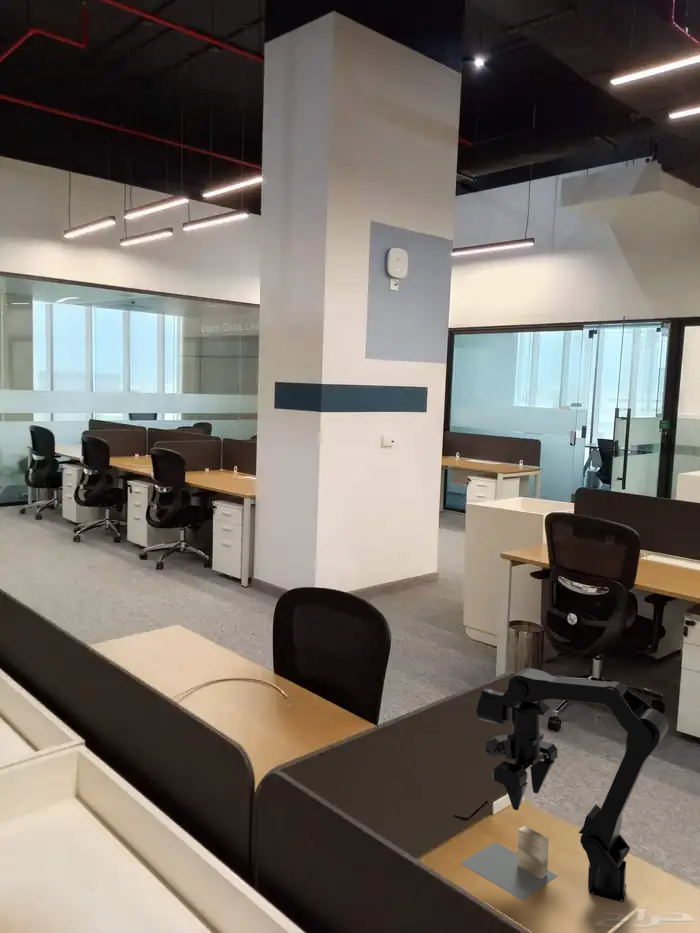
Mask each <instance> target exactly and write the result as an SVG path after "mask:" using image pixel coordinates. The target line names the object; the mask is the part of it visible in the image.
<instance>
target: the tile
mask: <svg viewBox="0 0 700 933" xmlns="http://www.w3.org/2000/svg"><path fill="white" fill-rule="evenodd" d="M517 830H518V831H517V854H518V860H517V866H519V867H521V868H523V869H524V870H526V871H528V872H530V873H532V874H533V875H535V876H537V877H539V878H540V879H542V878H544V877H545V876H547V870H548V864H549V863H548V860H549V858H548V857H549V838H548V837H547V836H545V835H543V834H542V833H539V832H537V831H535V830H534V829H532V828H529V827H527V826H525V825H523V826H522V827H520V828H518V829H517Z"/></svg>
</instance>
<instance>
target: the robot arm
mask: <svg viewBox="0 0 700 933" xmlns="http://www.w3.org/2000/svg"><path fill="white" fill-rule="evenodd" d="M507 687H508V688H507V690H506V691H505V692H502V691H497V690H493V689H492V688H484V689H482V690H481V691H480V693H481V694H480V697H479V699H478V702H477V706H476V710H475V711H476V716H477V718H478V720H480V721H485V722H489V723H493V724H498V725H501V726H506V725H507V724H508V723H509V722H511V730H512V731H511V732H510V733H508V734H502V735H501V734H500V735H496V736H494V737H492V738H491V737H490V738H488V739H486V741H485V744H484V746H485V747H484V752H486V754H487V756H490V757H491V758H496V757H499V756H501V757H502V756H505V759H507V760H513V761H514V762H515V763H511V762H508V761H506V760H505V761H502V762H501V763H500V764H498V765H497V766H496V767H494V768H493V769H492V771H491V774H492V776H491V777H492V780H493V781H494V782H496V783H499V784H501V785H503V786H504V788H505V790H506V792H507V795H508V799H509V801H510V805H511V807H512V809H513V810H514V811H518V810H519V809H520V806H521V804H522V800H523V798H524V795H525V792H526V790H527V786H528V782H527V780H528V772H527V770H528V769H530V777H531V778H530V779H531V786H532V787H531V788H532V792H533V793H534V794H539V792H540V790H541V788H542V786H543V784H544V783H545V781H546V778H547V776H548V774H549V772H550V770H551V769H552V767H553V765H554V763H555V761H556V759H557V758H558V748H557V746H556V745H555V744H554V743H552V742H548V741H544V733H541V732H540V730H541V728H540V727H541V726H540V725H541V723H540V721H541V716H544V715H546V713H548V712H549V711H550V709H551V708H550V707H549V705H547V704H546V703H545V702H544V701H546V700H560V701H566V702H567V701H569V702H576V703H577V702H578V703H586V704H597V705H605V706H607V708H608V709H609V710H610V711H611V712H612V713H613V715H614V717H615V718H616V720H617V722H618V723H619V725H620V726H621V727H622V728H623V729H624V730H625V731H626V732H627V735H626V740H625V752H624V756H623V757H622V760H621V762H620V764H619V767H618V770H617V771H616V773H615V776H614V779H613V780H612V782H611V785H610V786H609V790H608V792H607V794H606V795H605V799H604V801H603V803H602V805H601V807H600V806H598V805H597V804H595V805H594V806H593V807H592V808H591V809H590V810H589V812H588V814H587V815H586V816H585V819H584V822H583V823H584V824H583V826H582V827H581V828H580V829H579V831H578V834H580V835H581V836H580V844H581V846H582V848H583V850H584V851H585V853H586V855H587V859H588V862H589V865H588V874H587V875H588V876H587V877H588V878H587V886H588V888H589V894H590V895H591V896H592V895H593V896H597V897H599V898H603V899H604V898H605V899H608V900H612V901H615V902H618V903H624V901H625V896H626V890H627V884H626V875H627V874H626V873H627V861H626V860H625V858H626V857H627V856H628V854H629V852H630V850H631V847H630V846H629V844H628V843H627V842H626V841H625V839H624V838H623V836H622V835H621V829H622V818H623V812H624V811H625V808H626V806H627V804H628V802H629V800H630V798H631V795H632V793H633V791H634V789H635V786H636V784H637V782H638V780H639V777H640V775H641V772H642V771H643V768H644V767H645V764H646V761H647V760H648V758H649V757H650V755H651V754H652V752H653V751H654V750H655V749H656V747H657V746H658V744H659V743H660V741H662V739H663V738H664V737H665V735H666V734H667V732H668V730H669V722H668V721H667V720H668V719H667V718H666V717H665V716H664V713H662V712H660V711H659V710H657V709H654V708H653V707H652V706H651V705H650V704H649V703H648V702H647V701H646V700H644V698H642V697H640V696H639V695H637V694H635V693H634V692H632V691H631V690H630V689H629V688H627V686H625V684H623V683H622V682H620V681H615V680H614V681H602V680H592V679H580V678H572V677H571V678H570V677H558V676H555V675H551V674H550V673H549V672H546V671H544V670H540V669H536V668H534V667H533V668H532V667H527V668H526V667H525V668H524V669H522V670H521V671H519V672H518V673H516V674H514V675H513V676H512V677H510V679H509V681H508V686H507Z"/></svg>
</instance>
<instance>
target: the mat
mask: <svg viewBox="0 0 700 933" xmlns="http://www.w3.org/2000/svg"><path fill="white" fill-rule="evenodd" d="M517 860H518V852H514V851H513V850H511V849H510V848H507V847H506V846H504V845H502V844H500V843H498V842H496V841H494V842H493V843H491V844H490V845H487V846H486V847H484V848H482V849H481V850H479V851H477V852H476V853H475V854H473V855H470V856H469V857H468V858H465V859H463V860H462V861H460V864H461V865H462V866H464V867H466V868H467V869H469V870H471V871H472V872H475V873H476V874H477V875H479V876H481V877H482V878H484V879H486V880H487V881H488V882H491V883H493V885H496V886H498V887H500V888H501V889H503V890H504V891H506V892H507V893H510V894H511V895H513V896H514V897H516V898H518V899H520V900H521V901H525V900H526V899H528V897H530V896H531V895H533V894H534V893H536V892H538V891H539V890H541V888H543V887H544V886H546V885H547V884H548V883H550V882H551V881H553V880H554V879H556V878H557V877H558V875H557V874H555V873H553V872H552V871H549V870H548V869H547V876H545V877H544V878H542V879H540V878H539V877H537V876H535V875H533V874H532V873H530V872H528V871H526V870H524V869H523V868H521V867H519V866H517Z"/></svg>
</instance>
